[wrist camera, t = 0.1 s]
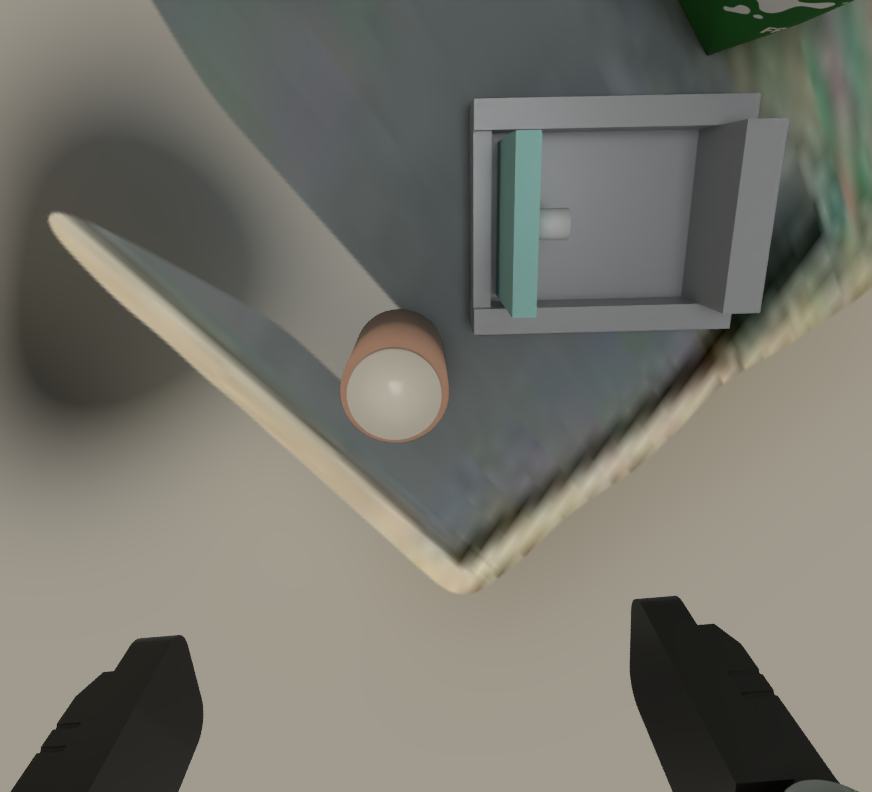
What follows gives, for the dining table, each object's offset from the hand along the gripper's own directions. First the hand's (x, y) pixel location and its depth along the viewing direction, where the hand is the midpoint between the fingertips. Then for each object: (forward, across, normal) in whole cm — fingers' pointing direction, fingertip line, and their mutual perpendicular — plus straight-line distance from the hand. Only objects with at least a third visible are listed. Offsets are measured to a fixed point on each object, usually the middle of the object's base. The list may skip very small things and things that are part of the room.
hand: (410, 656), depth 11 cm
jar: (+29, +1, +2) cm, 29 cm away
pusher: (+28, -7, -6) cm, 29 cm away
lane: (+29, -11, -6) cm, 31 cm away
